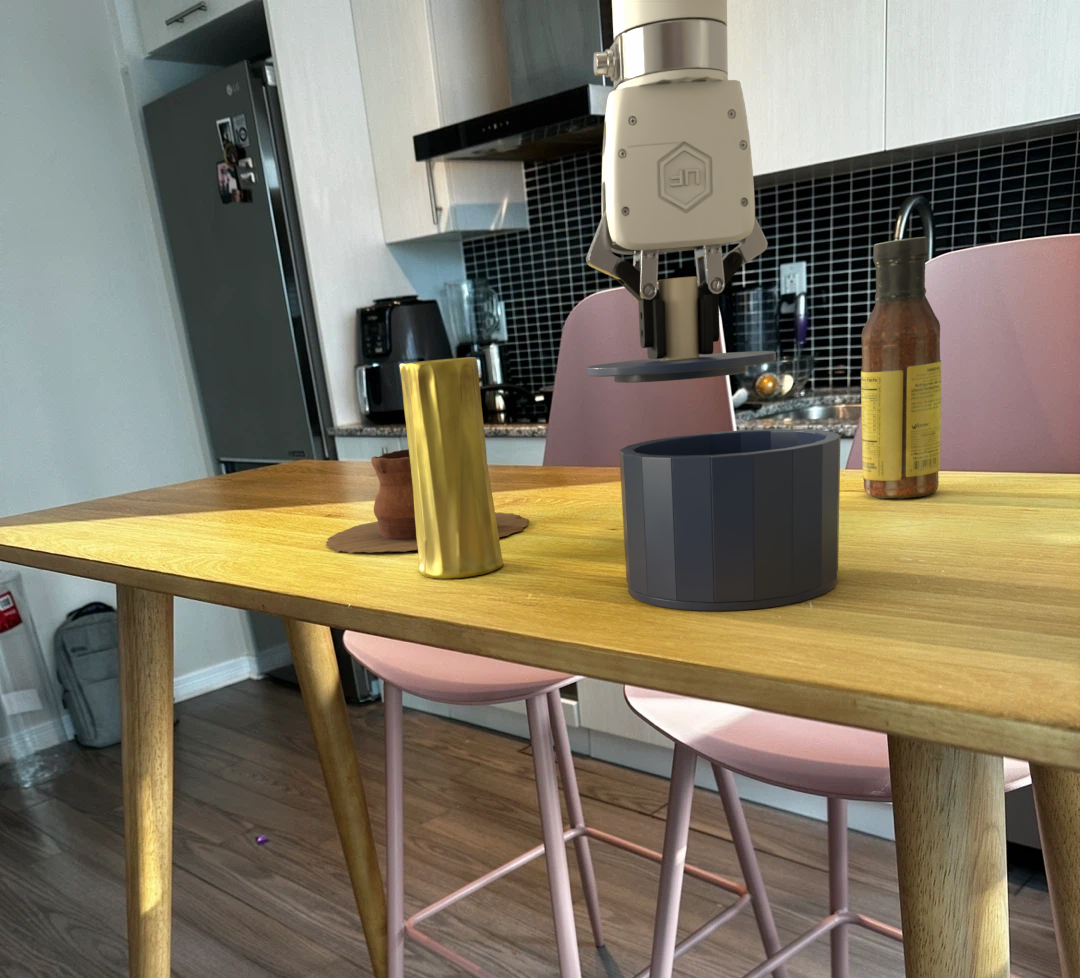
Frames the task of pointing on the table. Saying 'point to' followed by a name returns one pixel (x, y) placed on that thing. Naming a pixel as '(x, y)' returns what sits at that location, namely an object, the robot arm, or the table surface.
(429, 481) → the vase
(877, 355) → the sauce bottle
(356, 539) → the ceramic pot
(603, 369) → the tin lid
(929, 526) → the table surface
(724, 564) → the tin
